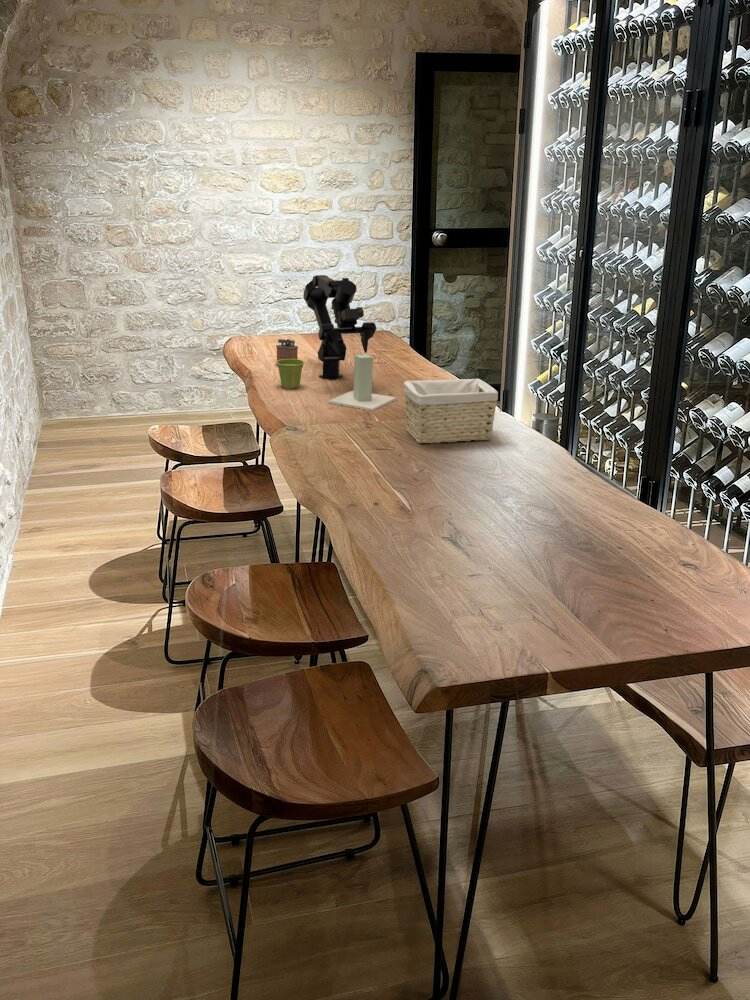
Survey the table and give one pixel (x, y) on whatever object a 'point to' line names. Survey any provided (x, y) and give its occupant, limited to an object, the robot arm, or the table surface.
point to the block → (363, 377)
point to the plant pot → (290, 372)
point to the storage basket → (450, 410)
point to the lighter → (286, 349)
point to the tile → (367, 405)
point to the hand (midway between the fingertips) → (352, 352)
